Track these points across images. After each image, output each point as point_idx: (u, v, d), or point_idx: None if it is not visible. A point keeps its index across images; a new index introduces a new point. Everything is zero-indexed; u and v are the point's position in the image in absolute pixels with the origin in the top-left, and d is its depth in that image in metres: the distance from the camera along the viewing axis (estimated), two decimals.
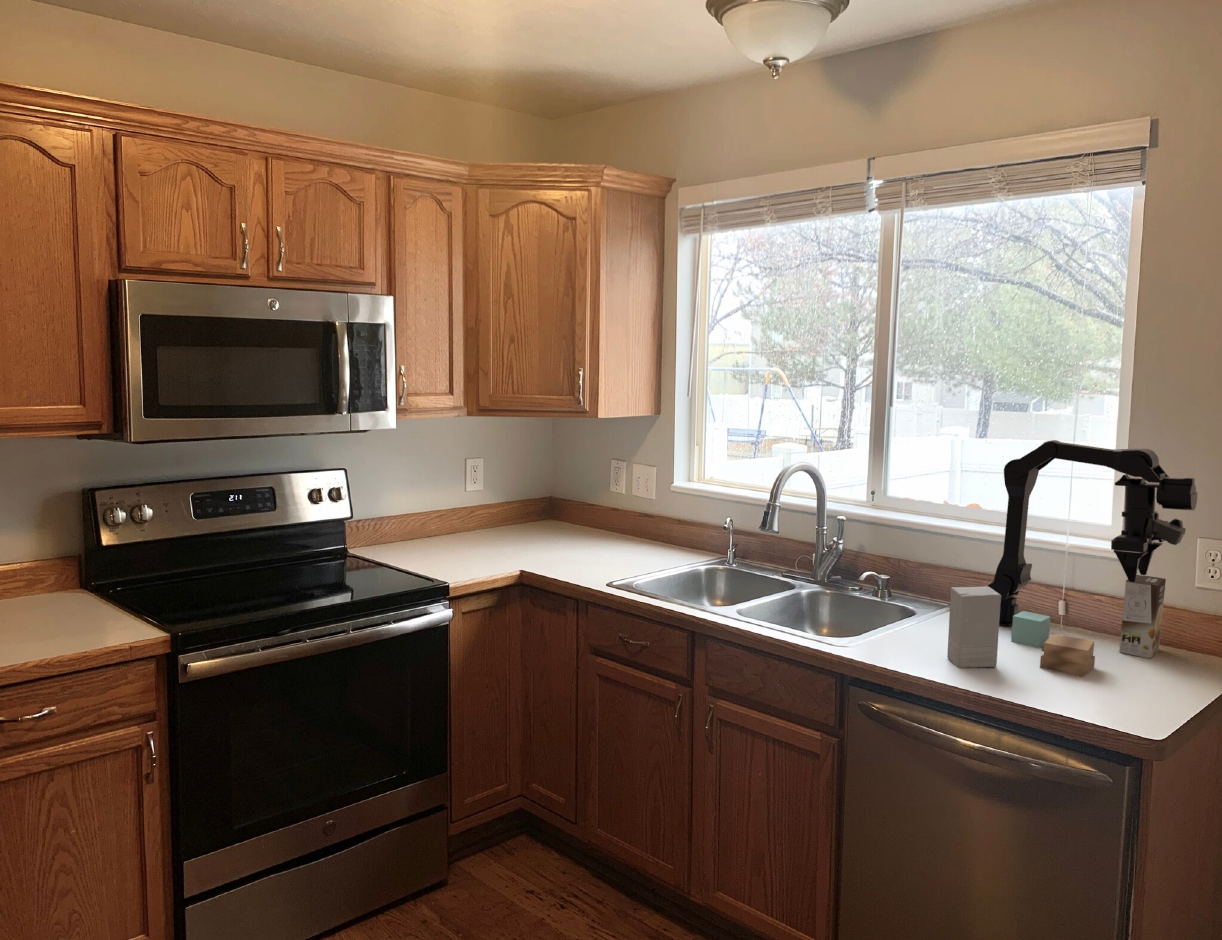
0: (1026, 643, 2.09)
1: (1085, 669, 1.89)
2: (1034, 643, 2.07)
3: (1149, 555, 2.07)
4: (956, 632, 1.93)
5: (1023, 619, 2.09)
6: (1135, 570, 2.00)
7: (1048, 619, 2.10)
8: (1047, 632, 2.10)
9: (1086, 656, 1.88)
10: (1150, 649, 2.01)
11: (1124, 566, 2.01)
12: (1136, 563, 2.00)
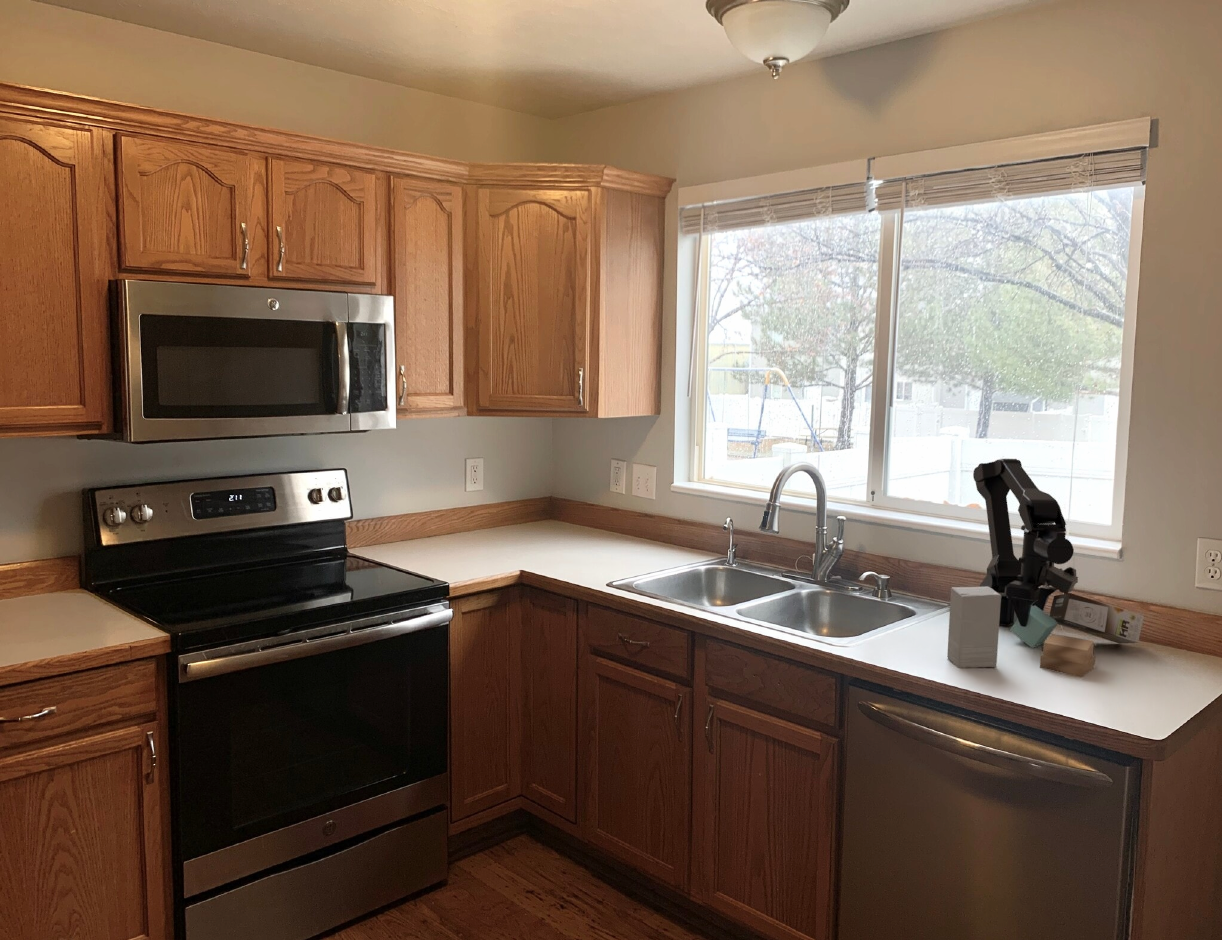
0: (1022, 638, 2.08)
1: (1085, 669, 1.89)
2: (1030, 642, 2.07)
3: (1044, 600, 2.13)
4: (956, 632, 1.93)
5: (1032, 617, 2.06)
6: (1026, 615, 2.06)
7: (1055, 625, 2.07)
8: (1047, 635, 2.09)
9: (1085, 656, 1.88)
10: (1134, 614, 2.04)
11: (1016, 611, 2.07)
12: (1027, 609, 2.05)
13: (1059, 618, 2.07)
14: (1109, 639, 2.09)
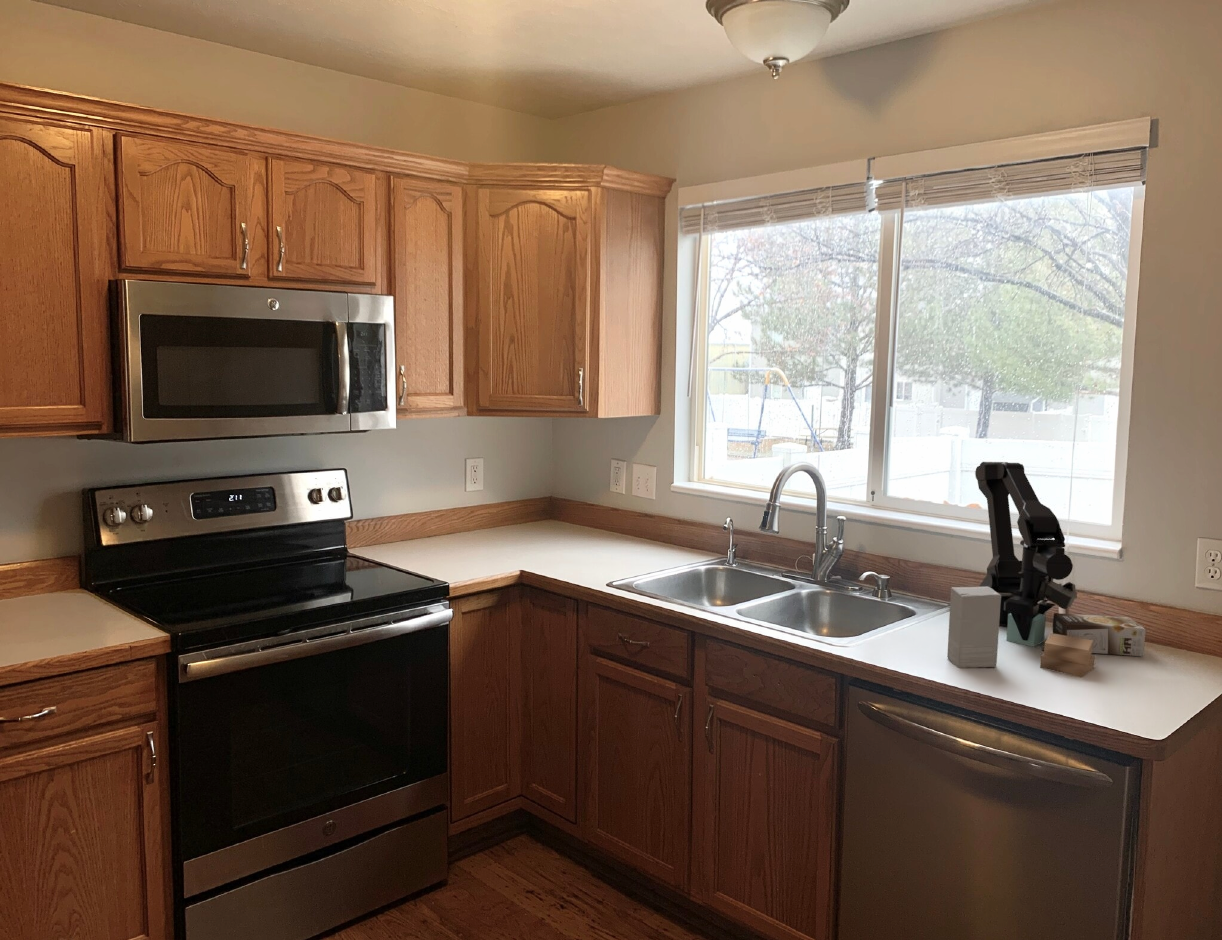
0: (1021, 641, 2.09)
1: (1085, 669, 1.89)
2: (1028, 642, 2.08)
3: None
4: (956, 632, 1.93)
5: None
6: (1028, 629, 2.07)
7: (1043, 618, 2.10)
8: (1042, 630, 2.10)
9: (1087, 656, 1.88)
10: (1135, 629, 2.01)
11: (1018, 625, 2.08)
12: (1029, 623, 2.06)
13: None
14: None
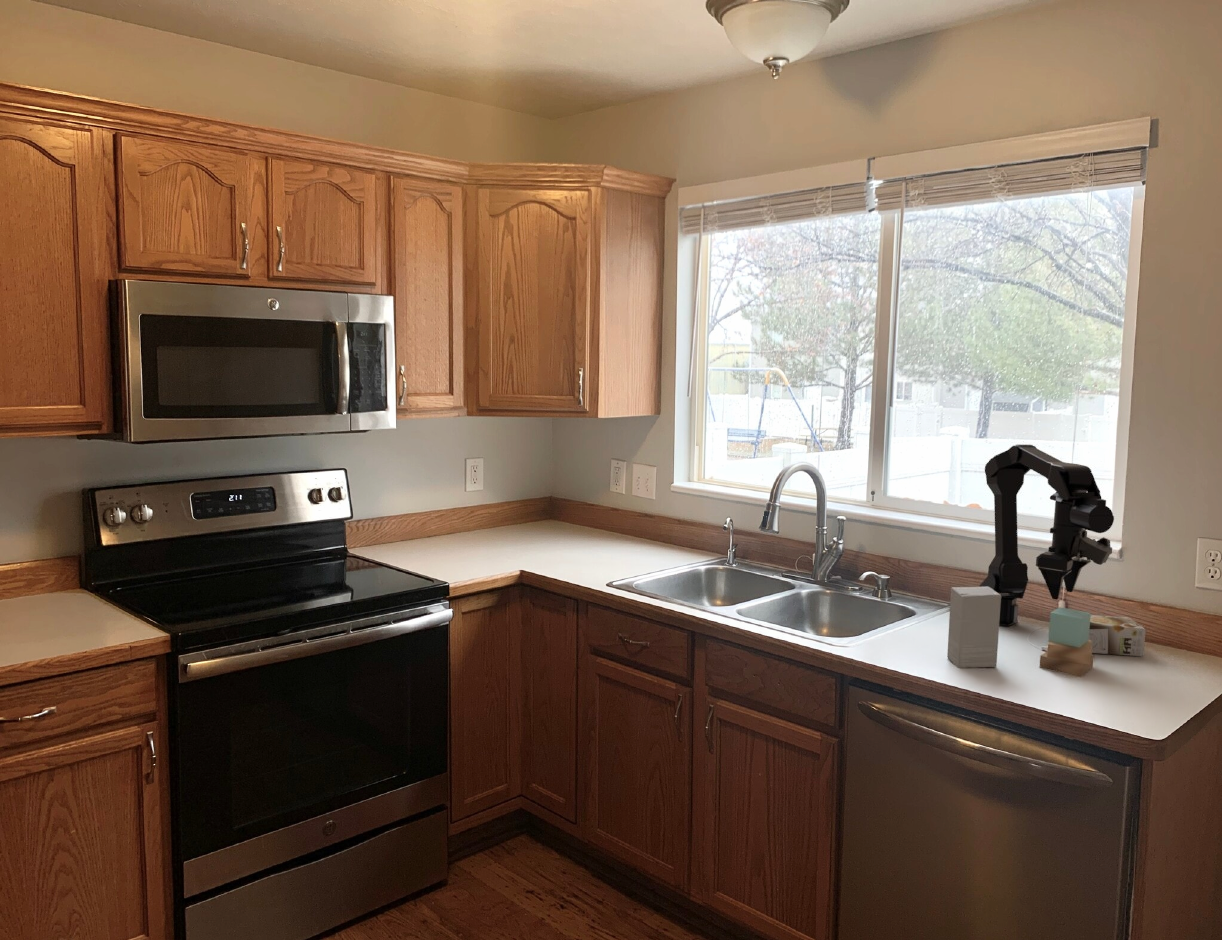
0: (1064, 642, 1.91)
1: (1085, 669, 1.90)
2: (1073, 642, 1.90)
3: (1076, 572, 2.05)
4: (956, 632, 1.93)
5: (1062, 616, 1.91)
6: (1058, 588, 1.98)
7: (1088, 616, 1.92)
8: (1087, 630, 1.92)
9: (1090, 656, 1.88)
10: (1135, 629, 2.01)
11: (1048, 583, 1.99)
12: (1060, 581, 1.97)
13: None
14: None
